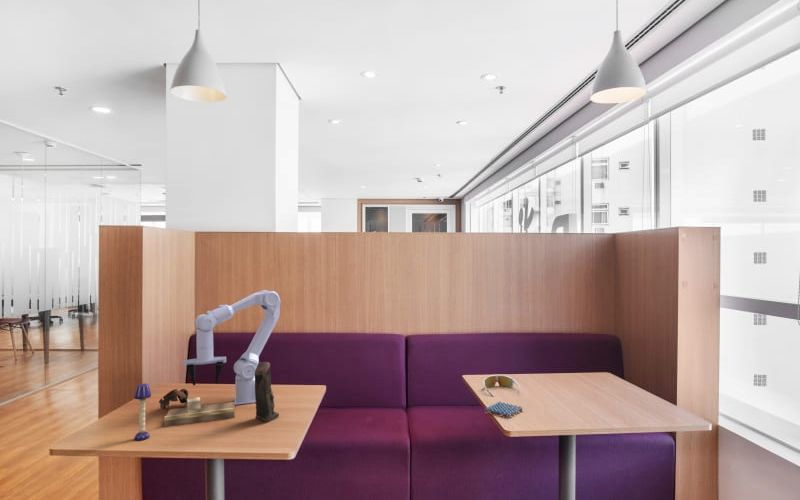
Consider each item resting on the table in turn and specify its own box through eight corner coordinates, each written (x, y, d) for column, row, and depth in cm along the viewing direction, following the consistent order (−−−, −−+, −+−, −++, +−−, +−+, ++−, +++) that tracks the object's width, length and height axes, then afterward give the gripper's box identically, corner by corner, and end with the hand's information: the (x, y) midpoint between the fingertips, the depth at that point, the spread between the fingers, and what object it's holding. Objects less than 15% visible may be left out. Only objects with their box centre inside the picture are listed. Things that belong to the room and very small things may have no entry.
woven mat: (482, 413, 162) (482, 408, 162) (498, 406, 169) (498, 400, 169) (508, 420, 154) (508, 414, 154) (524, 412, 162) (524, 406, 162)
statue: (279, 416, 161) (278, 359, 161) (267, 424, 154) (266, 364, 154) (263, 414, 163) (262, 358, 163) (250, 422, 156) (249, 363, 156)
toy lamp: (139, 435, 146) (138, 382, 147) (154, 434, 147) (153, 382, 147) (131, 441, 142) (130, 387, 142) (147, 440, 142) (146, 386, 142)
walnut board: (234, 407, 172) (234, 397, 172) (234, 417, 161) (234, 407, 161) (169, 415, 165) (169, 405, 165) (164, 426, 153) (164, 416, 153)
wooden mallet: (198, 406, 167) (198, 392, 167) (200, 414, 159) (200, 400, 159) (186, 408, 166) (186, 394, 166) (188, 416, 157) (187, 402, 157)
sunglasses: (512, 385, 194) (513, 373, 194) (524, 401, 180) (524, 389, 179) (479, 386, 194) (479, 375, 193) (488, 403, 179) (489, 390, 178)
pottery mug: (185, 414, 167) (172, 396, 165) (164, 424, 168) (150, 407, 166) (199, 395, 179) (187, 379, 177) (180, 405, 180) (167, 389, 178)
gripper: (226, 343, 177) (226, 378, 177) (184, 346, 172) (185, 382, 172) (225, 346, 170) (226, 383, 170) (182, 350, 165) (183, 388, 165)
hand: (205, 383), depth 171 cm, fingers open, 7 cm apart
